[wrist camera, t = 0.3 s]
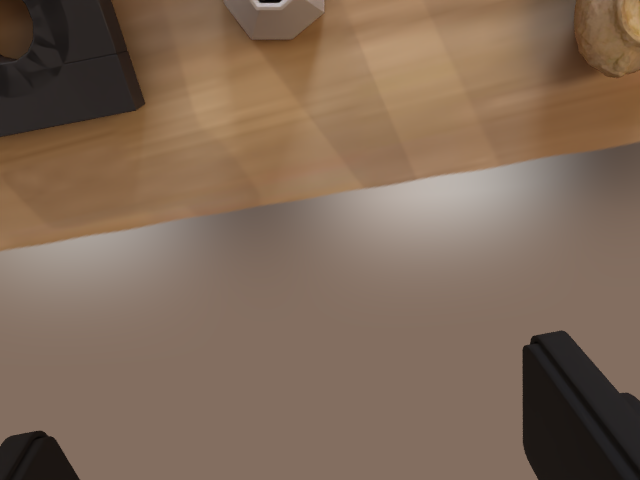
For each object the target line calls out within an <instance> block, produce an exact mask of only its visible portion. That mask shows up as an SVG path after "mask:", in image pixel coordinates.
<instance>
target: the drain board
mask: <svg viewBox="0 0 640 480" xmlns="http://www.w3.org/2000/svg"><path fill="white" fill-rule="evenodd" d="M23 2H24V3H25V4H26V6H27V8H28V11H29V13H30V15H31V18H32V20H33V41H32V43H31V45H30V48H29V50H28V52H27V53H26V54H24V55H23V56H22V57H21V58H19V59H18V60H17V59H12V58H7V57H4V56H2V55H1V54H0V137H3V136H8V135H13V134H18V133H23V132H28V131H33V130H38V129H44V128H49V127H54V126H59V125H64V124H69V123H74V122H79V121H85V120H90V119H95V118H100V117H105V116H110V115H115V114H120V113H126V112H131V111H136V110H137V109H139V108H140V107H142V106H143V105H144V104H145V101H144V98H143V95H142V92H141V89H140V86H139V83H138V80H137V77H136V74H135V71H134V68H133V65H132V62H131V59H130V56H129V53H128V51H127V47H126V44H125V41H124V38H123V35H122V32H121V29H120V26H119V23H118V20H117V17H116V14H115V11H114V8H113V5H112V2H111V0H23Z"/></svg>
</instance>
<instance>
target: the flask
mask: <svg viewBox="0 0 640 480" xmlns="http://www.w3.org/2000/svg"><path fill="white" fill-rule="evenodd" d="M224 4H225V5H226V7H227V8H228V9H229V11H230V12H231V13H232V15H233V16H234V17H235V19H236V20H237V21H238V23H239V24H240V25H241V27H242V28H243V29H244V31H245V32H246V33H247V34H248V36H249V37H250V38H251V40H280V39H293V38H294V37H296V36H297V35H298V34H299V33H300V32H302V31H303V30H304V29H305V28H306V27H308V26H309V25H310V24H311V23H312V22H314V21H315V20H316V19H317V18H319V17H320V16H321V15H322V14H323V13H324V0H224Z"/></svg>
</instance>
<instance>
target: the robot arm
mask: <svg viewBox="0 0 640 480" xmlns="http://www.w3.org/2000/svg"><path fill="white" fill-rule="evenodd" d="M523 445H524V450H525V454H526V456H527V459H528V461H529V463H530V465H531V467H532V469H533V471H534V472H535V474H536V476H537V478H538V480H640V401H639V400H638V399H637V398H636V397H634V396H633V395H631V394H629V393H619V392H618V391H617V390H616V389H615V387H614V386H613V385H612V384H611V383H610V382H609V380H608V379H607V378H606V377H605V376H604V375H603V374H602V372H601V371H600V370H599V369H598V368H597V367H596V366H595V364H594V363H593V362H592V361H591V360H590V359H589V358H588V357H587V355H586V354H585V353H584V352H583V351H582V349H581V348H580V347H579V346H578V345H577V344H576V343H575V341H574V340H573V339H572V338H571V337H570V336H569V335H568V334H567V333H566V332H565V331H557V332H551V333H546V334H541V335H536V336H533V337H532V338H531V342H530V345H526V346H524V347H523ZM0 480H80V479H79V478H78V476H77V474H76V473H75V471H74V469H73V468H72V466H71V464H70V463H69V461H68V460H67V458H66V456H65V454H64V453H63V451H62V449H61V448H60V446H59V444H58V443H57V441H56V440H55V439H54V438H53V437H51V436H50V437H48V435H47V434H46V433H45V432H43V431H34V432H29V433H24V434H19V435H13V436H10V437H8V438H7V439H5V441H4V442H3V443H2V444H1V446H0Z"/></svg>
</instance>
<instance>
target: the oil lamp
mask: <svg viewBox="0 0 640 480" xmlns="http://www.w3.org/2000/svg"><path fill="white" fill-rule="evenodd" d="M574 29H575V36H576V40H577V43H578V46H579V53H581V55H582V56H583V57H584V59H585V60H586V61H587V63H588V64H589V65H590V66H592V67H594V68H596V69H597V70H599V71H601V72H602V73H603V74H604V75H605V76H607V77H613V78H620V77H622V76H624V75H625V74H629V73H634V72H636V71H638V70H640V0H576V6H575V16H574Z"/></svg>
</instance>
